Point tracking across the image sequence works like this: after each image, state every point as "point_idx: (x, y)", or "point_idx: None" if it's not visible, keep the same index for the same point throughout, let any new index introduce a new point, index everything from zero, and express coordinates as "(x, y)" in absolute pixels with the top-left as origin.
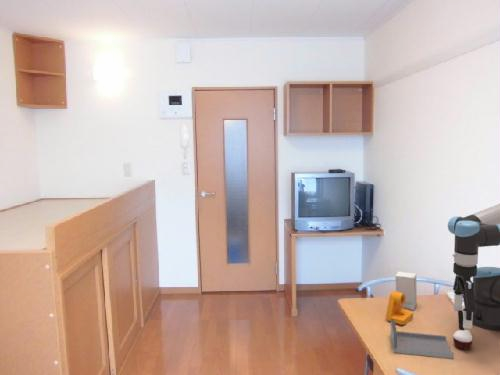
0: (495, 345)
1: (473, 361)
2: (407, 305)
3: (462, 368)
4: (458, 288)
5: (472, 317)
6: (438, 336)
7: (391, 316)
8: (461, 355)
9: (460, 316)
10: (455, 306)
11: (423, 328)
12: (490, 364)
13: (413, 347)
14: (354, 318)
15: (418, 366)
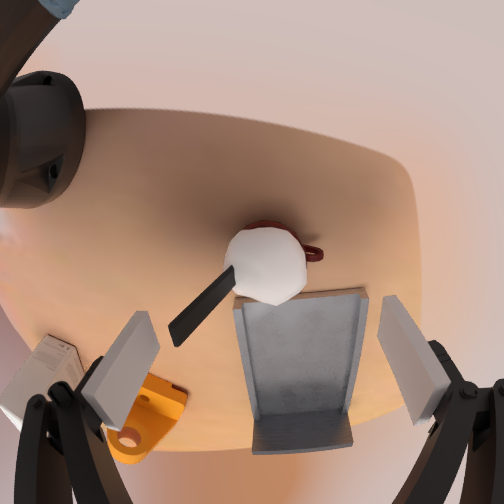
0: (208, 113)
1: (368, 224)
2: (75, 368)
3: (412, 266)
4: (126, 496)
5: (427, 344)
6: (245, 331)
7: (174, 420)
8: (335, 258)
9: (197, 318)
10: (147, 363)
11: (171, 347)
12: (376, 168)
13: (326, 384)
14: (198, 449)
15: None
